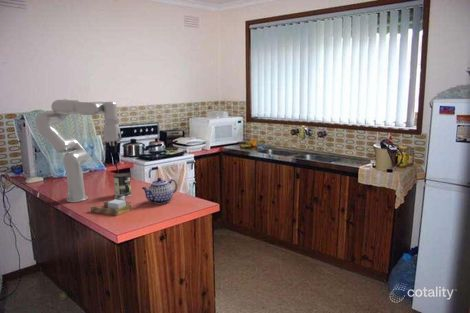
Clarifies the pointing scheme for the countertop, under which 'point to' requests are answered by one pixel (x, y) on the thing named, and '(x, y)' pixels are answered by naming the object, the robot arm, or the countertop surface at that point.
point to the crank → (125, 190)
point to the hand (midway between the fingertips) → (114, 151)
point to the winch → (121, 199)
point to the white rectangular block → (116, 204)
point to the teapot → (160, 191)
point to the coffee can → (122, 183)
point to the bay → (110, 211)
